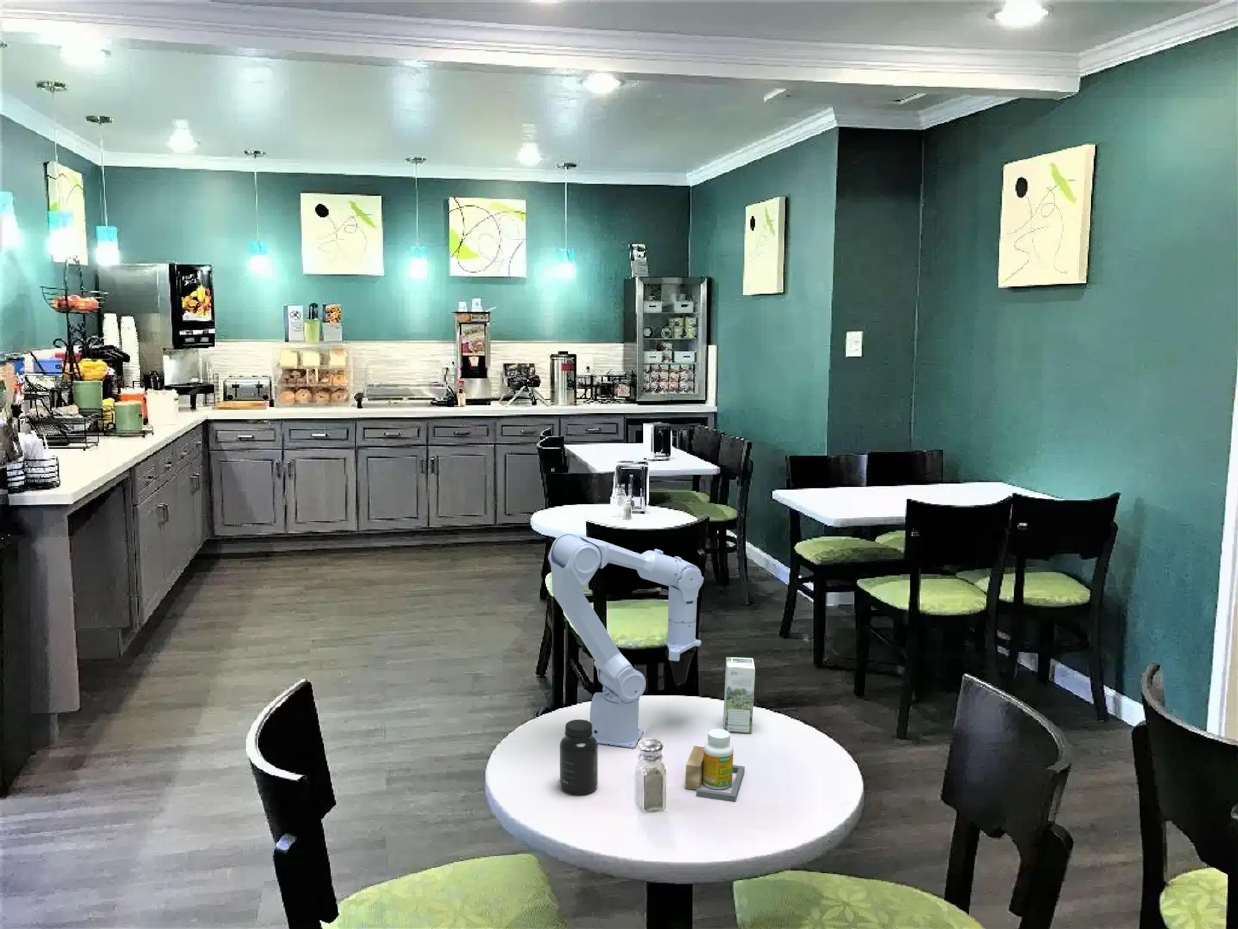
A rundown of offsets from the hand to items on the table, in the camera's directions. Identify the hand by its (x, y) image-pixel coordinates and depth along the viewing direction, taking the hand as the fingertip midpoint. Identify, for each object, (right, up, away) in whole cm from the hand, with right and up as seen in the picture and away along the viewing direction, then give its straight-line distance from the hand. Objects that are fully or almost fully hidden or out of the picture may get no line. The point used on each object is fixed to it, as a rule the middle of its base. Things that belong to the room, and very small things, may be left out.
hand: (679, 682), depth 207 cm
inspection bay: (+6, -14, -23) cm, 27 cm away
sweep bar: (+2, -13, -22) cm, 25 cm away
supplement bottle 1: (-20, -14, -25) cm, 35 cm away
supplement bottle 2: (+5, -14, -23) cm, 27 cm away
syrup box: (+12, -10, +1) cm, 16 cm away
